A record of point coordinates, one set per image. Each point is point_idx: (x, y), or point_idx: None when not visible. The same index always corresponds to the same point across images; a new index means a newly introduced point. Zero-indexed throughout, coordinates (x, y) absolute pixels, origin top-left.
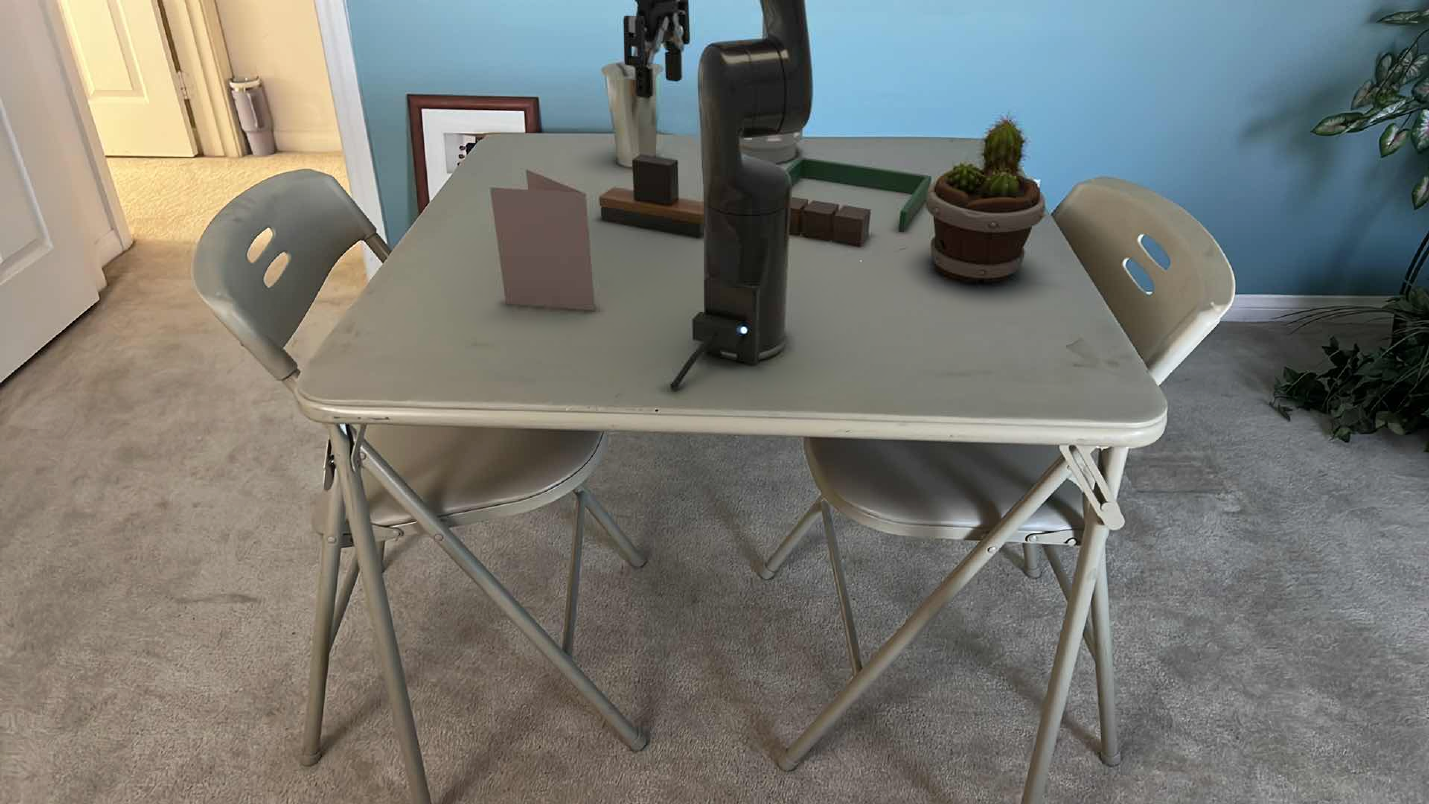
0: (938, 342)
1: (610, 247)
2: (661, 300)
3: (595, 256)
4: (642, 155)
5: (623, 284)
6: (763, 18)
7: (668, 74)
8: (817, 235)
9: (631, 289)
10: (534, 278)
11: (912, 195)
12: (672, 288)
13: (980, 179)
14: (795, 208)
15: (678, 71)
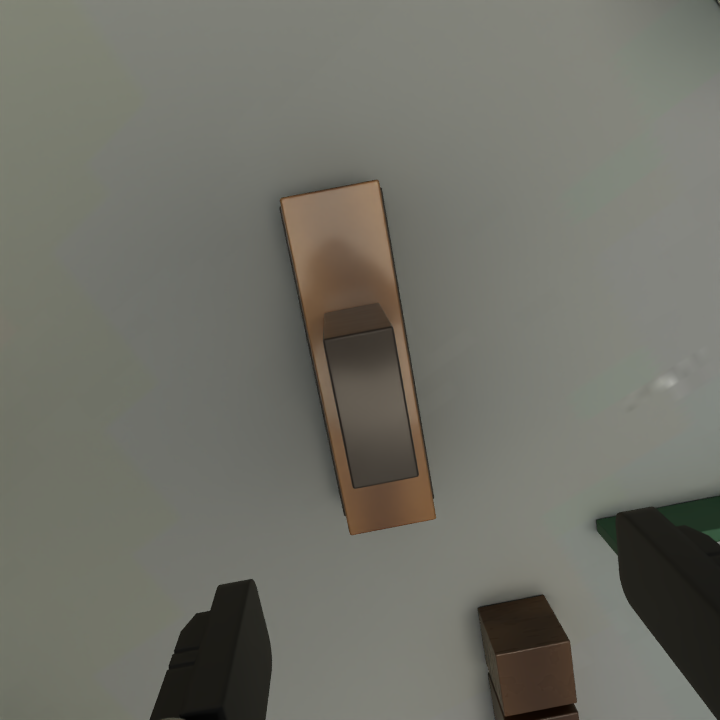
0: None
1: (156, 351)
2: (23, 619)
3: (89, 356)
4: (384, 343)
5: (21, 510)
6: None
7: (633, 544)
8: (494, 710)
9: (15, 539)
10: None
11: None
12: (83, 604)
13: None
14: (504, 708)
15: (654, 626)
